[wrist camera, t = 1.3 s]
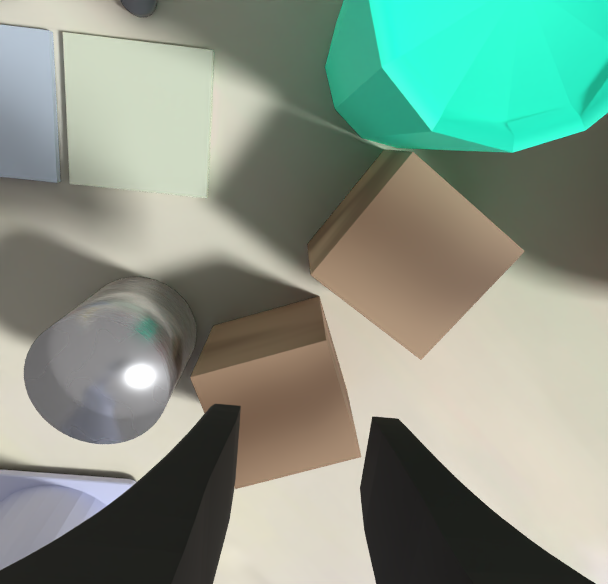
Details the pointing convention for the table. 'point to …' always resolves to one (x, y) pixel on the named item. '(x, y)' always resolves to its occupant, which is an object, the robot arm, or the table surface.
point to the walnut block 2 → (409, 251)
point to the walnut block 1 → (279, 391)
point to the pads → (107, 110)
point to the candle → (469, 71)
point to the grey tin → (112, 361)
